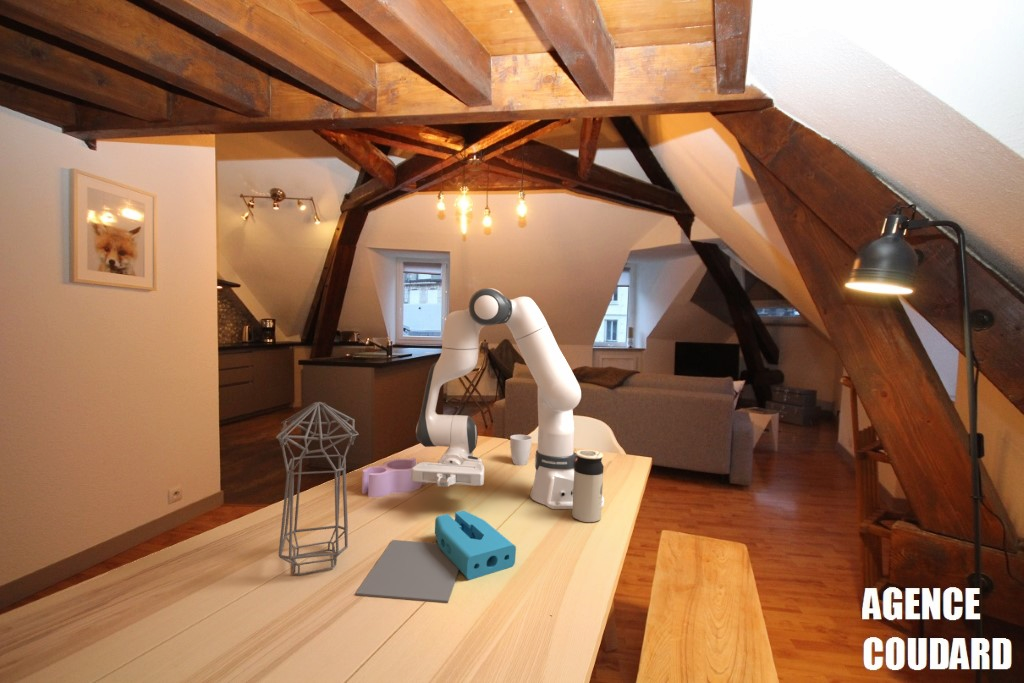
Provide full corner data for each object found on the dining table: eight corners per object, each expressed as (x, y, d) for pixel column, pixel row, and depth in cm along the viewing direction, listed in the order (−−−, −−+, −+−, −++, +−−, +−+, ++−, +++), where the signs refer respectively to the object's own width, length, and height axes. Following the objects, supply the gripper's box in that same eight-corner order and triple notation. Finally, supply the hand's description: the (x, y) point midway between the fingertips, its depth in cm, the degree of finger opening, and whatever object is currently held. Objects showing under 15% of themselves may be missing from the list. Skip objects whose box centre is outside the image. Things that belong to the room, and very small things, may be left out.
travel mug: (567, 518, 129) (570, 454, 129) (577, 509, 136) (580, 447, 136) (595, 525, 126) (599, 459, 125) (604, 515, 133) (607, 452, 132)
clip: (376, 501, 136) (376, 478, 136) (355, 489, 145) (355, 467, 144) (432, 485, 151) (433, 464, 150) (409, 475, 159) (410, 455, 159)
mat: (467, 547, 111) (467, 545, 111) (447, 602, 89) (447, 600, 89) (392, 541, 112) (392, 539, 112) (355, 595, 91) (355, 593, 90)
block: (427, 537, 114) (466, 580, 97) (428, 517, 113) (467, 557, 97) (471, 527, 120) (514, 565, 104) (472, 508, 120) (516, 544, 103)
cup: (531, 460, 181) (532, 435, 181) (530, 467, 173) (531, 440, 172) (510, 459, 182) (511, 433, 181) (508, 465, 174) (509, 439, 173)
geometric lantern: (279, 550, 106) (281, 396, 104) (352, 541, 112) (356, 395, 110) (270, 589, 91) (273, 410, 90) (355, 576, 97) (359, 408, 95)
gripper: (417, 454, 138) (404, 469, 124) (487, 458, 136) (481, 474, 123) (417, 475, 138) (403, 493, 124) (486, 479, 137) (480, 497, 123)
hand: (443, 483), depth 123 cm, fingers closed
